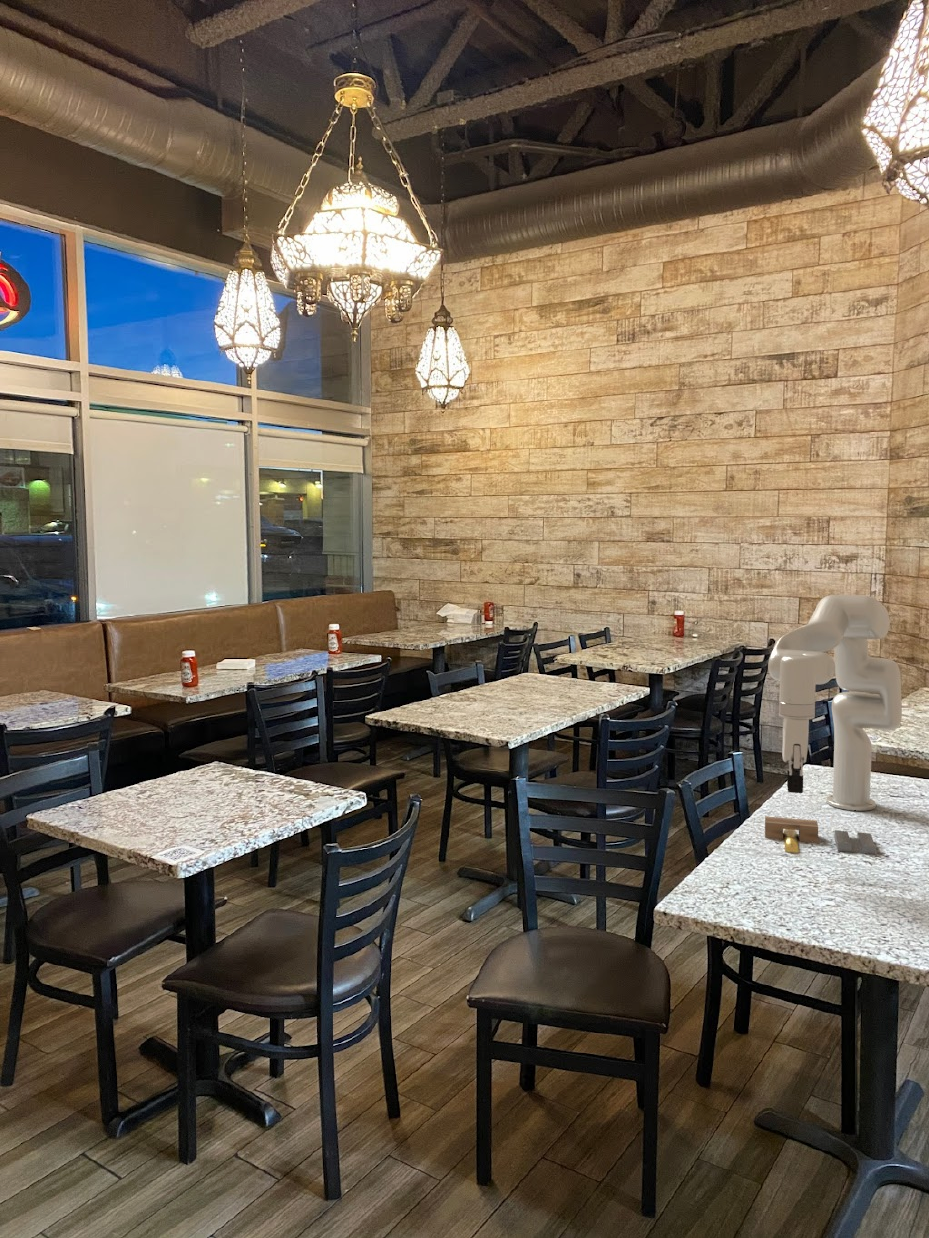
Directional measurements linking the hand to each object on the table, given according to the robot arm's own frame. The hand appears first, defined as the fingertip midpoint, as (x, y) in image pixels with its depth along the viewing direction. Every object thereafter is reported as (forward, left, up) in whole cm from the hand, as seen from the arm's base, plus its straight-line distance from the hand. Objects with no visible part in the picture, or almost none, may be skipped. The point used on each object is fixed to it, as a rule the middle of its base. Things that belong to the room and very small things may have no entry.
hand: (794, 789), depth 198 cm
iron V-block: (-13, +14, -17) cm, 26 cm away
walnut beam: (-16, 0, -17) cm, 23 cm away
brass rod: (-11, 0, -16) cm, 19 cm away
